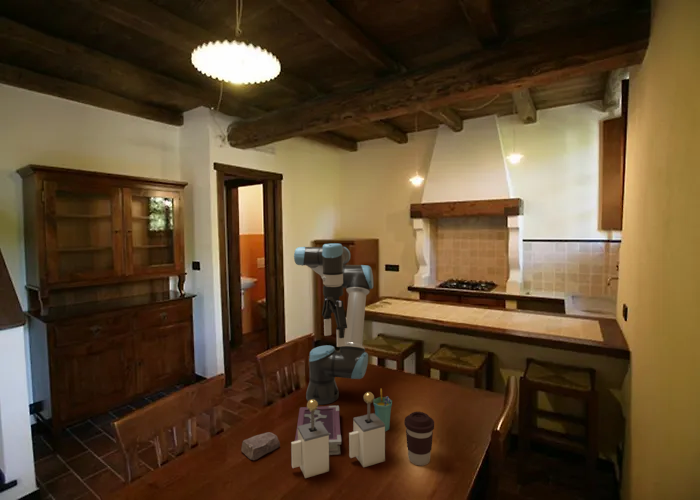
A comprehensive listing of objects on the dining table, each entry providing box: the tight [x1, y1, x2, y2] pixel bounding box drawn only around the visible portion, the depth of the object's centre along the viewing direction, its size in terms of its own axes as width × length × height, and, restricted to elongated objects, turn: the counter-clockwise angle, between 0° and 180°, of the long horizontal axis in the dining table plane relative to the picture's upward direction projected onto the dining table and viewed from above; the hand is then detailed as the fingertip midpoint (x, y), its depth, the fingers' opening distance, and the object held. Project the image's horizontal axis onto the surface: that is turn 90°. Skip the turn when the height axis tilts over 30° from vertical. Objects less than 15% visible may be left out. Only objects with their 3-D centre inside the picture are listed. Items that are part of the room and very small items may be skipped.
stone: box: [241, 431, 281, 461], centre depth 127 cm, size 12×9×5 cm
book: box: [294, 405, 342, 456], centre depth 136 cm, size 25×16×5 cm, turn 4°
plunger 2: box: [363, 391, 375, 424], centre depth 121 cm, size 5×5×21 cm
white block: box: [348, 412, 386, 468], centre depth 121 cm, size 8×11×13 cm
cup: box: [372, 388, 393, 432], centre depth 139 cm, size 14×8×15 cm, turn 15°
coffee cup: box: [403, 411, 435, 466], centre depth 120 cm, size 10×10×15 cm
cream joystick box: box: [290, 421, 330, 479], centre depth 116 cm, size 8×11×13 cm
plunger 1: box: [306, 399, 319, 432], centre depth 116 cm, size 5×5×21 cm
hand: (333, 340), depth 135 cm, fingers open, 13 cm apart
